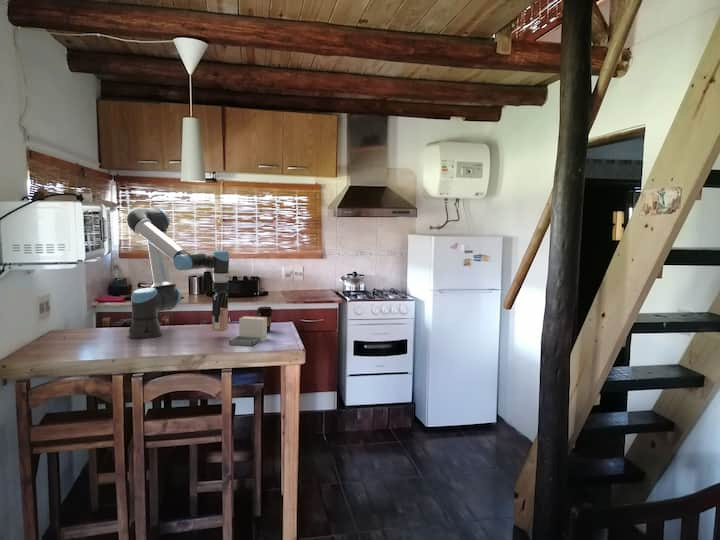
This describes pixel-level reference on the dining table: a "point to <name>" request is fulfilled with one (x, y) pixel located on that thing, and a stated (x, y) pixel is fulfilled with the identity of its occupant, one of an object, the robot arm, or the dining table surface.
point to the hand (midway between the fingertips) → (219, 327)
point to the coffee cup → (265, 315)
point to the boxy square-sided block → (253, 327)
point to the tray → (244, 341)
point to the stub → (221, 320)
